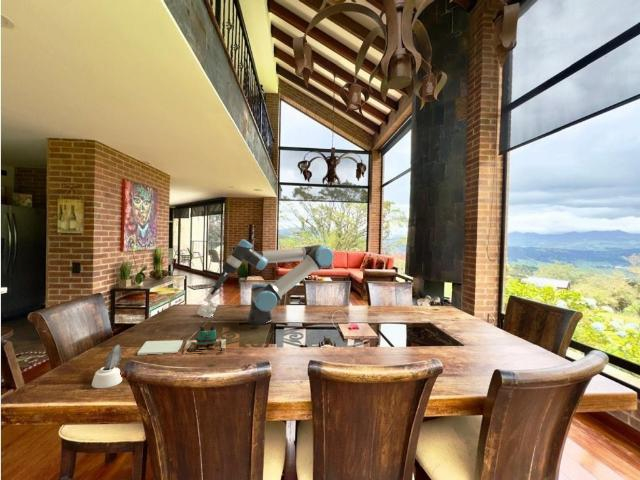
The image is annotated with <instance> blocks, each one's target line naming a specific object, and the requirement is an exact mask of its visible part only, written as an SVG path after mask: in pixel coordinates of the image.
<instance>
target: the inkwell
mask: <svg viewBox="0 0 640 480" xmlns="http://www.w3.org/2000/svg"><path fill="white" fill-rule="evenodd" d="M122 352H123V351H122V347H121V345H120V344H115V346H114V347H113V348H112V349H111V350H110V351H109V353H108V355H107V356H106V357H105V360H104V366H103V367H100V369H97V371H95V373H94V376H93V378H92V381H91V386H92V388H95V389H107V388H112V387H115V386H117V385H119V384H121V383H122V382H123V376H122V377H121V375H122V374H121V375H120V372H121V369H120V368H119V367H118V366H119V365H120V362H121V361H122V360H121V358H122V355H121V354H122Z"/></svg>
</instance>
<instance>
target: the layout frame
mask: <svg viewBox="0 0 640 480" xmlns="http://www.w3.org/2000/svg"><path fill="white" fill-rule="evenodd" d="M193 343H194V344H197V341H196V340H195V339H190V340H189V339H188V340H186V343H185V345H184V347H183V350H184V349H185V348H189V347H191V345H192V344H193ZM216 343H221V344H220V349H221V348H225V349H226V345H227V339H226V338H225V339H224V338H223V339H222V338H221V339H218V338H216ZM189 349H190V348H189Z"/></svg>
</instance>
